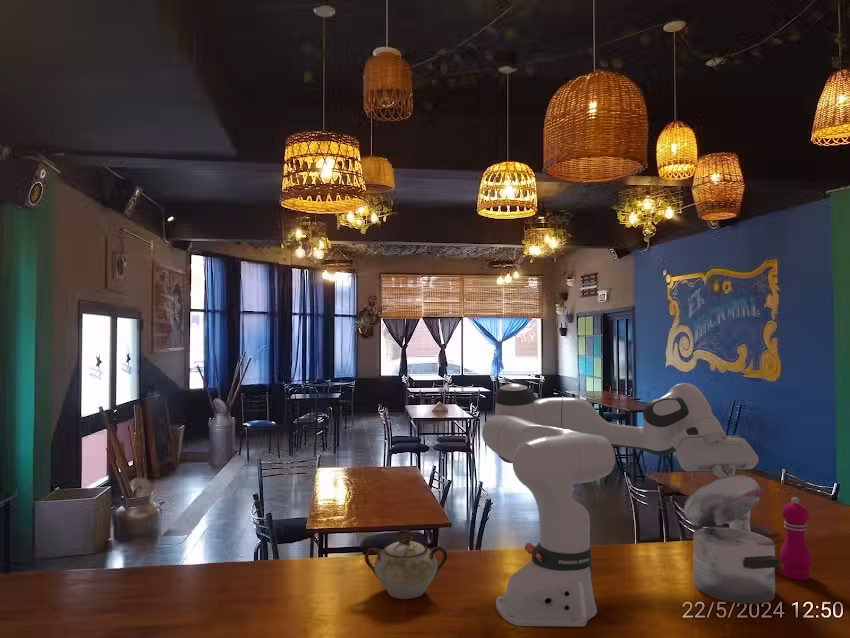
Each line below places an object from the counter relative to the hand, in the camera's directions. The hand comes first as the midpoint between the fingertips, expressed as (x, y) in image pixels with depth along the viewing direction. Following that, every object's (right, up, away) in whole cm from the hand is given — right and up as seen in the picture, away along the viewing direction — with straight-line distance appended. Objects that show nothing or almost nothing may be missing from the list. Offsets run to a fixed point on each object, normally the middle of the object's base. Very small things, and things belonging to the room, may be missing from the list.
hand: (731, 483), depth 160 cm
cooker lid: (-1, -6, +3) cm, 6 cm away
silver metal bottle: (+14, -26, +25) cm, 39 cm away
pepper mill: (+20, -26, +7) cm, 33 cm away
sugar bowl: (-80, -25, -4) cm, 84 cm away
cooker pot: (0, -25, -1) cm, 25 cm away
